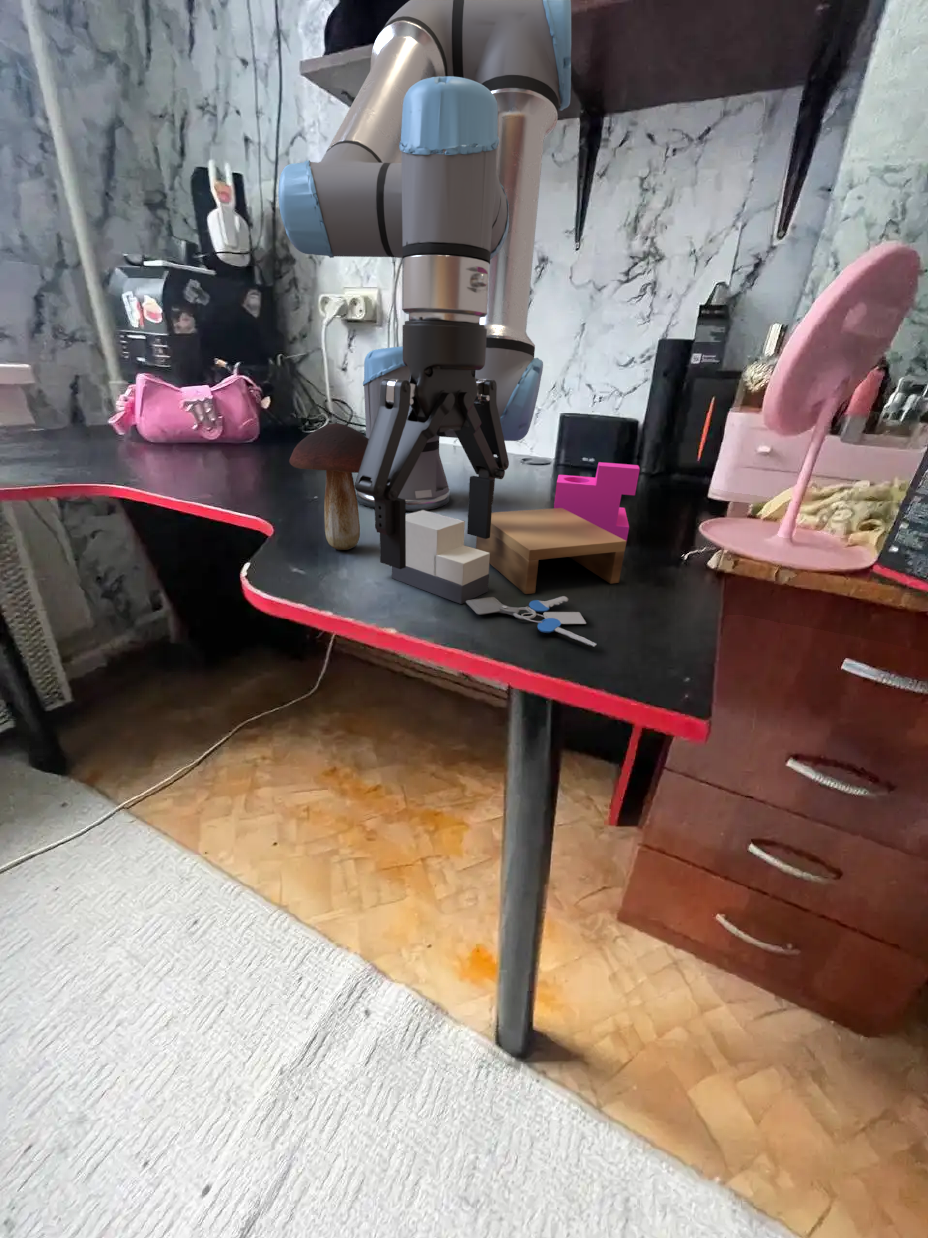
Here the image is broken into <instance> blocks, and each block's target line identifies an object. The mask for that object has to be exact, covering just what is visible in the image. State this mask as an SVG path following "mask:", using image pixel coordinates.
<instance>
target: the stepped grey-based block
mask: <svg viewBox="0 0 928 1238" xmlns="http://www.w3.org/2000/svg"><path fill="white" fill-rule="evenodd" d="M465 526H466V521H465V520H461V519H458V518H453V517H450V516H446V515H443V514H439V513H435V512H432V511H429V510H419V511H413V512H411V513H407V514H406V567H405V568H402V569H398V568H395V567H392V566H391V579H394V580H396V581H399V582H402V583H404V584H407V585H409V586H412V587H414V588H417V589H420V590H423V591H425V592H426V593H427V592H428V593H431V594H432V595H436V596H438V597H441V598H444V599H446V600H449V601H451V602H455V603H456V604H459V605H463V604H466V601H467V600H473V599H476V598H478V597H479V596H482V595H484V594H486V593H488V592H489V585H490V584H489V583H490V563H489V559H490V553H488V552H485V551H482V550H478V549H476V547H475V548H474V547H471V546H468V545H465Z"/></svg>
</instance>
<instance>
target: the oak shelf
mask: <svg viewBox="0 0 928 1238" xmlns="http://www.w3.org/2000/svg"><path fill="white" fill-rule="evenodd" d="M475 540H476V541H475V549H478V550H482V551H485V552H488V553H490V559H489V565H491V566H492V567H493V568H494V569H495V570H496V571H498V572H499V573H500V574H501V575H502V576H504V577H505V578H506V579H507V580H508V581H509V582H510V583H512V584H513V585H514V586H515V587H516V588H518V589H519V590H520V591H521V592H522V593H523V594H525V595H530V594H531V595H532V594H535V593H536V589H537V587H536V586H537V579H538V569H539V568H538V567H539V560H541V561H542V560H549V559H560V558H570V559H571V560H573V561H574V562H576V563H577V564H579V565H580V566H582V567H584V568H585V569H587V570H588V571H590V572H592V573H593V574H595V575H596V576H598V577H599V578H600V579H602V580H603V581H606V582H607V583H608V584H612V585H613V584H619V583H620V579H621V573H622V568H623V564H624V563H623V562H624V556H625V551H626V546H627V542H626V540H624V539H622V538H620V537H618V536H616V535H614V534H612V533H610V532H608V531H606V530H604V529H602V528H600V527H598V526H596V525H594V524H592V523H590V522H588V521H587V520H585V519H583V518H581V517H579V516H577V515H575V514H573V513H571V512H569V511H567V510H565V509H563V508H554V507H553V508H540V509H539V508H538V509H525V510H522V509H521V510H510V511H507V510H506V511H495V512H494V511H492V515H491V530H490V538H488V539H484V538H480V537H477V536H476V539H475Z"/></svg>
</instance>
